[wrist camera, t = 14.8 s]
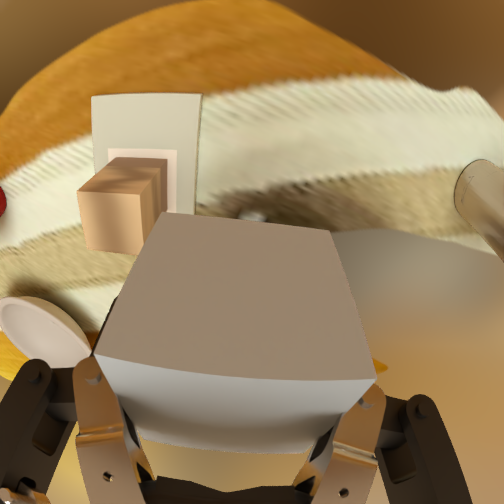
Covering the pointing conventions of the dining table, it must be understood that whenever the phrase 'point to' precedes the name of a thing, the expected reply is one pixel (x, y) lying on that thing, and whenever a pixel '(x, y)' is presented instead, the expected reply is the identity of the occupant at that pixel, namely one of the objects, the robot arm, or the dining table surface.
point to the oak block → (120, 208)
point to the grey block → (235, 336)
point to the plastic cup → (2, 202)
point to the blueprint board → (151, 139)
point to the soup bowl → (43, 331)
